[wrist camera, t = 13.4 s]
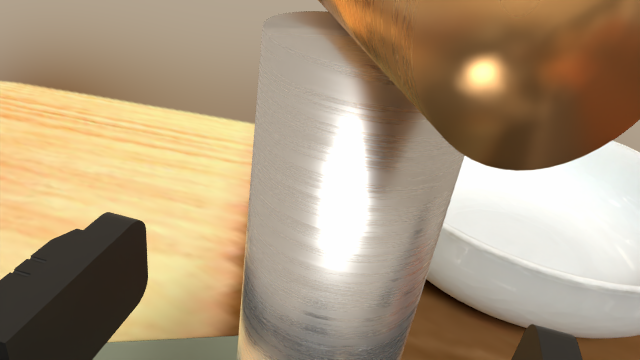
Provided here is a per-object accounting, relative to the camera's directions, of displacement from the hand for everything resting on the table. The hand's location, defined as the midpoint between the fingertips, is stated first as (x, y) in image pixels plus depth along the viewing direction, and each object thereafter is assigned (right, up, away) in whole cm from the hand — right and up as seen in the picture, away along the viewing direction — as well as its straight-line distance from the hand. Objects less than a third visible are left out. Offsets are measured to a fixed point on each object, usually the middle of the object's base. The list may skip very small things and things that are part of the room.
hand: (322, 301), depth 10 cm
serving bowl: (+12, -3, +22) cm, 25 cm away
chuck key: (-2, -10, +4) cm, 11 cm away
